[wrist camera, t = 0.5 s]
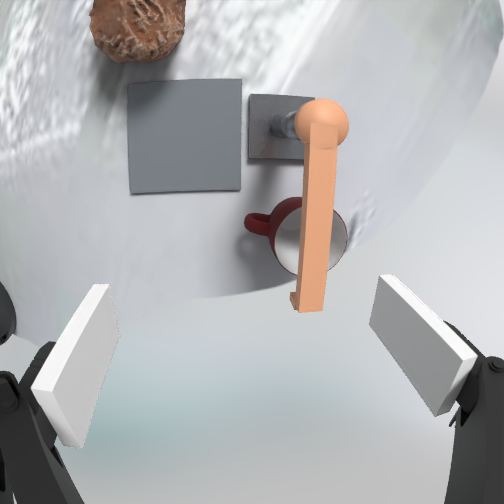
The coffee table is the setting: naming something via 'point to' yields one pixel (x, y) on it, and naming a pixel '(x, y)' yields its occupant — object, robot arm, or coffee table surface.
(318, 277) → the ball-ended drumstick
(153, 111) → the mat
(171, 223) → the coffee table surface
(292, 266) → the mug
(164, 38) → the decorative rock
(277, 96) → the clip post
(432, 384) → the robot arm
